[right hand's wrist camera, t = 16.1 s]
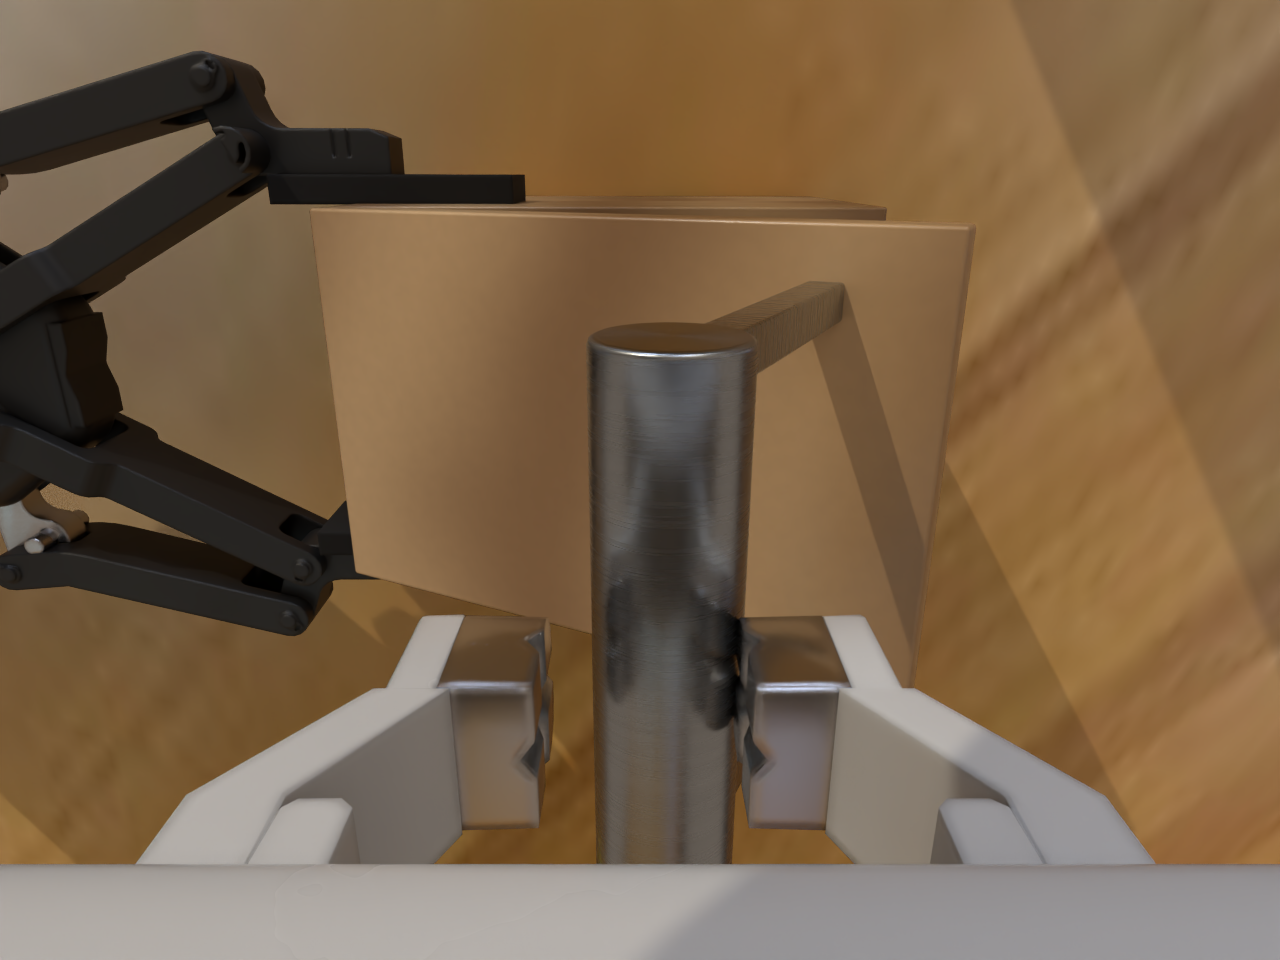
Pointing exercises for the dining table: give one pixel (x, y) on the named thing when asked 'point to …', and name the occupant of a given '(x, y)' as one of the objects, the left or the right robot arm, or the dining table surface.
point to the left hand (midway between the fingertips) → (527, 369)
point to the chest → (677, 206)
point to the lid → (648, 450)
